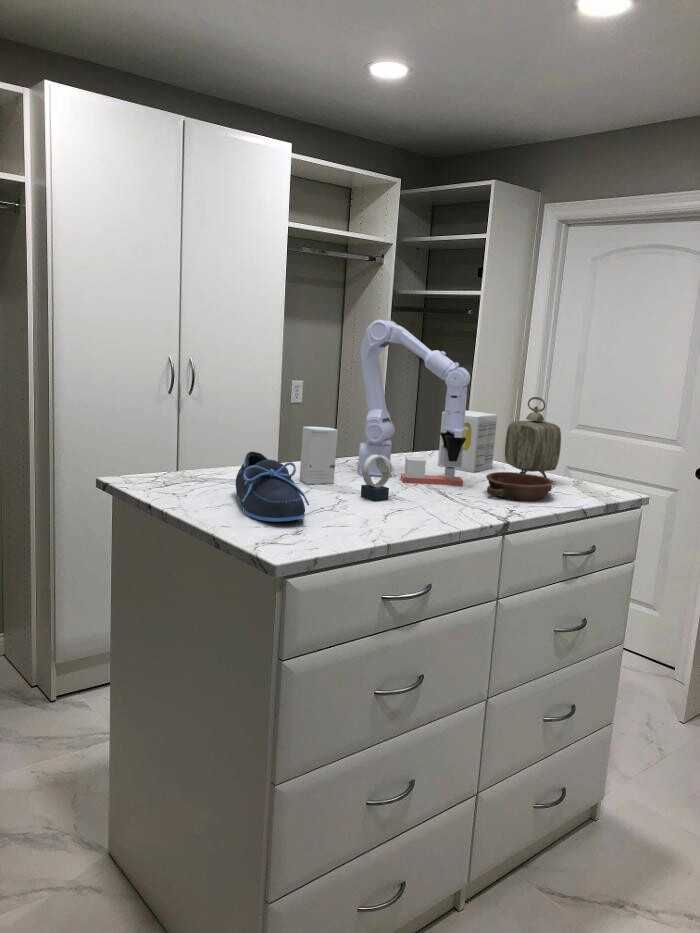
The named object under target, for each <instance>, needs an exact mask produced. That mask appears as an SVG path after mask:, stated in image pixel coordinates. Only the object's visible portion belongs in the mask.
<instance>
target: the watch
mask: <svg viewBox="0 0 700 933" xmlns="http://www.w3.org/2000/svg"><path fill="white" fill-rule="evenodd" d="M374 459H376V461H375V464H376V466H377V468H378V469H379V470H380V472H381V474H383V475H382V476H380V477H381V478H380V479H379V480H378V482H376V483H374V482H373V480H372V477H371V476H372V475H370V473H369V466H370V464H371V462H372V461H373V460H374ZM392 472H393V465H392V462H391V460H390V461H389V460H388V459H387V458H386V457H385V456H382V455H380V456H379V455H370V456H369V457H368V458H367V459H366V460H365V462H364V464H363V467H362V475H361V476H362V478H363V481H364V483H365V484H361V489H360V498H362V499H365V500H367V501H371V502H375V503H377V502H385V501H389V492H390V487H387V486H385V485H386V484H387V483H388V481H389V479H390V477H392V476H391V473H392Z"/></svg>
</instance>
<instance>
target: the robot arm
mask: <svg viewBox="0 0 700 933" xmlns="http://www.w3.org/2000/svg"><path fill="white" fill-rule="evenodd" d="M392 343H393V344H401V345H403V346H404V347H405V348H407V349H408V350H409V351H411V352H413V353H414V354H415V355H417V356H418V357H419V358H421V359H422V360H423V361H424V367H426V368H425V369H428V370H429V371H430V372H431V373H433V374H434V375H435V376H437V377H438V378H439V379H440V380H442V381H444V382H445V385H446V394H445V405H444V412H445V414H444V426H443V430H445V431H447V432H446V433H443V432H441V431H440V434H441V437H442V440H443V444H444V446H448V457H449V461H453V462H457V459H458V456H459V453H460V450H461V447H462V445H463V444H464V442H465V441H466V438H465V437H462V432H463V431H468V428H467V427H464V422H465V411H467V409H466V408H467V399H468V398H467V397H468V394H467V393H468V385H469V384H470V381H471V375H470V372H469V371H468V370H467V369H466V368H465V367H462V366H461V367H460V363H459V362H454V361H453V360H451V359H450V358H449V357H448V356H446V355H447V352H445V351H444V350H441V351H440V350H438V349H437V350H436V349H435V350H431V349H430V348H428V347H427V345H425V344H424V343H423V342H421V340H419V339H418V338H417V337H415V335H413V333H410V331H408V330H407V329H406V328H405V327H404V326H401V325H399V324H397V323H396V322H395V321H393V320H385V319H384V320H383V319H376V320H373V322H371V323H370V324H369V326H368V327H367V328H366V329H365V336H364V338H363V341H362V344H361V347H360V349H359V350H360V352H359V354H360V359H361V360H360V362H361V368H362V374H363V380H364V381H363V382H364V389H365V397H366V401H367V411H368V412H367V416H366V420H365V421H366V426H365V429H364V435H365V438H366V440H367V441H366V442H360V443H359V446H358V448H359V449H358V461H357V465H356V466H357V471H358V474H359V475H360V476H363V475H362V467H363V464H364V462H365V460H366V459H367V458H368V457H369V456H370V455H379V456H380V455H382V456H385V457H386V458H387V459H388V460H389V461H390V462H391V459H392V458H391V457H392V444H393V442H392V440H391V439H392V438H393V437H394V435H395V432H396V428H395V425H394V423H393V422H392V419H391V415H390V413H389V411H388V409H387V404H386V396H385V389H384V381H383V377H382V376H383V374H382V367H381V361H380V354H382V352H383V351H384V350H385V348H386V347H388V346H389V345H390V344H392ZM375 461H376V459H374V460H373V461H372V462H371V464H370V466H369V473H370V476H380V477H382V475H383V474H381V472H380V470H379V469H378V468H377V466H376V464H375ZM392 476H393V473H392V472H391V476H390V477H392Z"/></svg>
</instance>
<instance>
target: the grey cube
mask: <svg viewBox="0 0 700 933" xmlns="http://www.w3.org/2000/svg"><path fill="white" fill-rule="evenodd" d="M462 453H463V449H462V448H461V450H460V453H459V456H458V459H457V462H453V461H449V457H448V446H441V457H440V463H441V464H442V465H443V466H451V467H461V464H462Z"/></svg>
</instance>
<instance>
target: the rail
mask: <svg viewBox="0 0 700 933" xmlns="http://www.w3.org/2000/svg"><path fill="white" fill-rule="evenodd" d="M404 457H405V460H404V472H403V473H400V481H401V482H402V483H404V484H421V485H422V484H423V485H424V484H425V485H443V486H444V485H446V486H462V487H463V485H464V480H463V479H462V478H461V477H460V476H455V475H456V474H455V473H456V469H455V468H454V467H444V475H429V474H426V465H427V461H426V459H424V457H417V456H416V457H415V456H404Z"/></svg>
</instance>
